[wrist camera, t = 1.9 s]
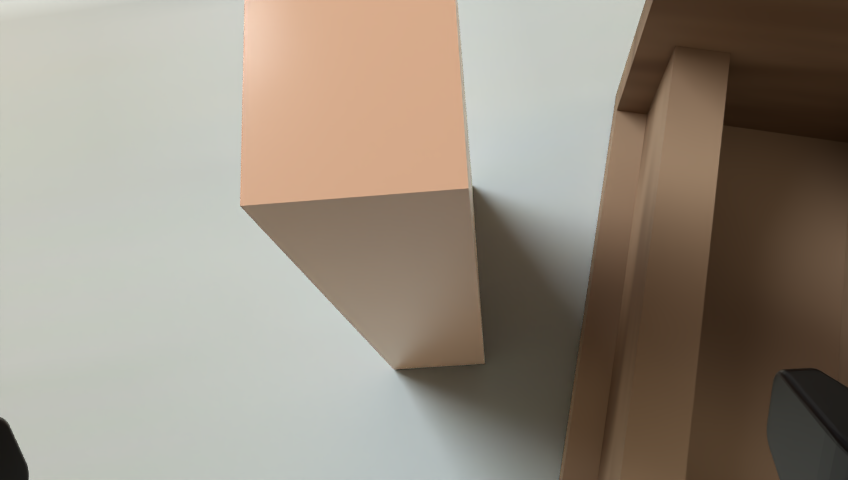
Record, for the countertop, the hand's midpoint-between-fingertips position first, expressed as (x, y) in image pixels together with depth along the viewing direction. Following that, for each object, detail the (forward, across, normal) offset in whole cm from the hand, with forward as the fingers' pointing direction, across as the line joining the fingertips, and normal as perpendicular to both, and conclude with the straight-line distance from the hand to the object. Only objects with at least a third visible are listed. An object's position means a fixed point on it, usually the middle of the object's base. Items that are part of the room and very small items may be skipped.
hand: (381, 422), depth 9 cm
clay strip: (+11, 0, +5) cm, 12 cm away
